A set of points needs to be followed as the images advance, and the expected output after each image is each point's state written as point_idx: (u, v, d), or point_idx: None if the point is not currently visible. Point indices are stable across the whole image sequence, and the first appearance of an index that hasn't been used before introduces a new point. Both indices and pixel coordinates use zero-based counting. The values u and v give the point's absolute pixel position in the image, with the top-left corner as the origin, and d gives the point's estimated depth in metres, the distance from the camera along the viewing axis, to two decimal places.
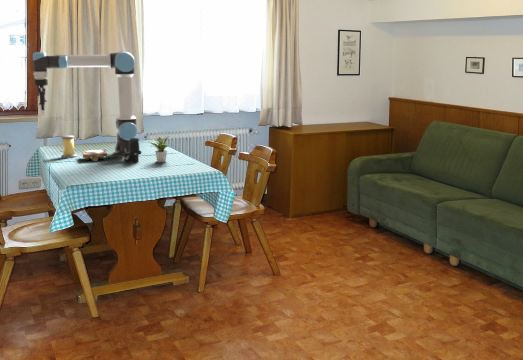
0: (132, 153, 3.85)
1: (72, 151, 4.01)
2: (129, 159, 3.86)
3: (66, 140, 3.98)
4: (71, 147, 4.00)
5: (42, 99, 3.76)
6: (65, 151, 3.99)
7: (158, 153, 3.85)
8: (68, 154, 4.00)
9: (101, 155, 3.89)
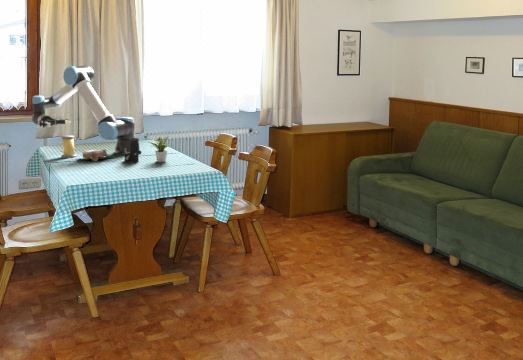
0: (132, 153, 3.85)
1: (72, 151, 4.01)
2: (129, 159, 3.86)
3: (66, 140, 3.98)
4: (71, 147, 4.00)
5: None
6: (65, 151, 3.99)
7: (158, 153, 3.85)
8: (68, 154, 4.00)
9: (101, 155, 3.89)
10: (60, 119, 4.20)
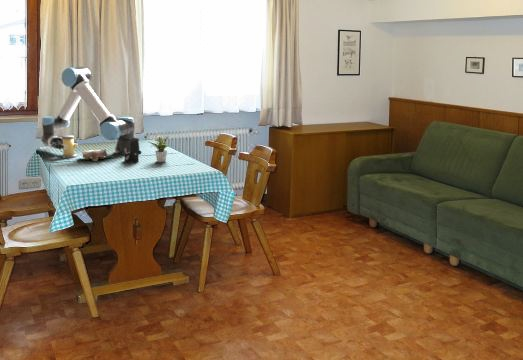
0: (132, 153, 3.85)
1: (72, 151, 4.01)
2: (129, 159, 3.86)
3: (66, 140, 3.98)
4: (71, 147, 4.00)
5: (54, 145, 4.01)
6: (65, 151, 3.99)
7: (158, 153, 3.85)
8: (68, 154, 4.00)
9: (101, 155, 3.89)
10: None
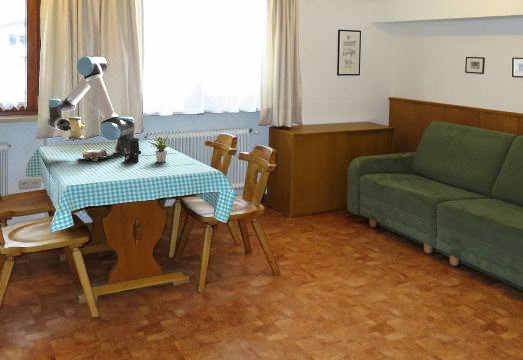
0: (132, 153, 3.85)
1: (79, 132, 3.95)
2: (129, 159, 3.86)
3: (73, 121, 3.92)
4: (78, 128, 3.94)
5: (61, 126, 3.95)
6: (72, 132, 3.94)
7: (158, 153, 3.85)
8: (75, 135, 3.94)
9: (101, 155, 3.89)
10: None
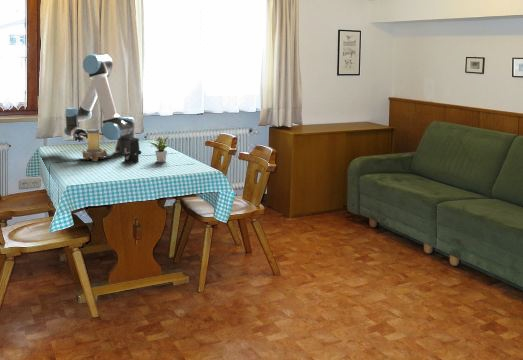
0: (132, 153, 3.85)
1: (97, 145, 3.92)
2: (129, 159, 3.86)
3: (91, 134, 3.89)
4: (96, 141, 3.91)
5: (74, 137, 3.91)
6: (90, 145, 3.91)
7: (158, 153, 3.85)
8: (93, 149, 3.91)
9: (101, 155, 3.89)
10: None
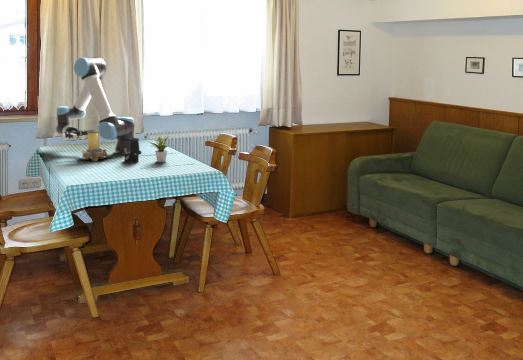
0: (132, 153, 3.85)
1: (97, 145, 3.92)
2: (129, 159, 3.86)
3: (91, 134, 3.89)
4: (96, 141, 3.91)
5: (65, 134, 4.01)
6: (90, 145, 3.91)
7: (158, 153, 3.85)
8: (93, 149, 3.91)
9: (101, 155, 3.89)
10: (85, 130, 4.13)
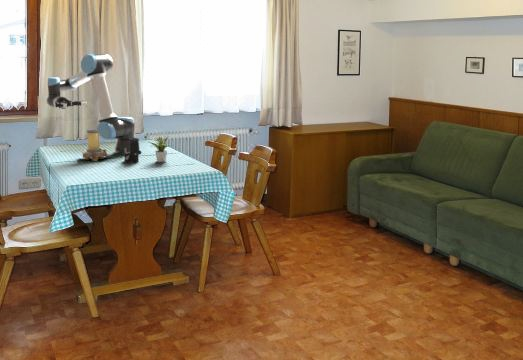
0: (132, 153, 3.85)
1: (97, 145, 3.92)
2: (129, 159, 3.86)
3: (91, 134, 3.89)
4: (96, 141, 3.91)
5: None
6: (90, 145, 3.91)
7: (158, 153, 3.85)
8: (93, 148, 3.91)
9: (101, 155, 3.89)
10: (76, 101, 4.14)
